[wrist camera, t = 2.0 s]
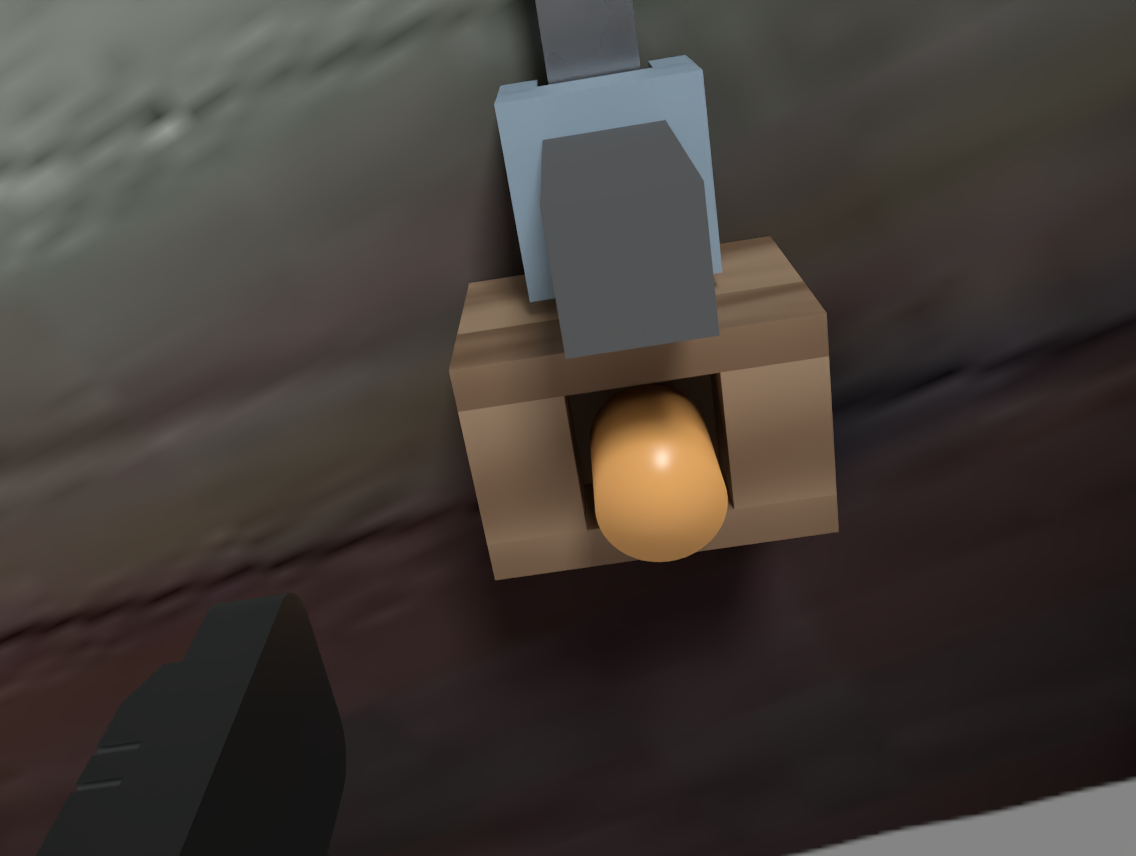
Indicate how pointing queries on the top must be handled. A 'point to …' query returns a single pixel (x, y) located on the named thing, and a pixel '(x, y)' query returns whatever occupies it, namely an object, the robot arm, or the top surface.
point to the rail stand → (641, 379)
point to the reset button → (655, 474)
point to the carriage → (616, 204)
